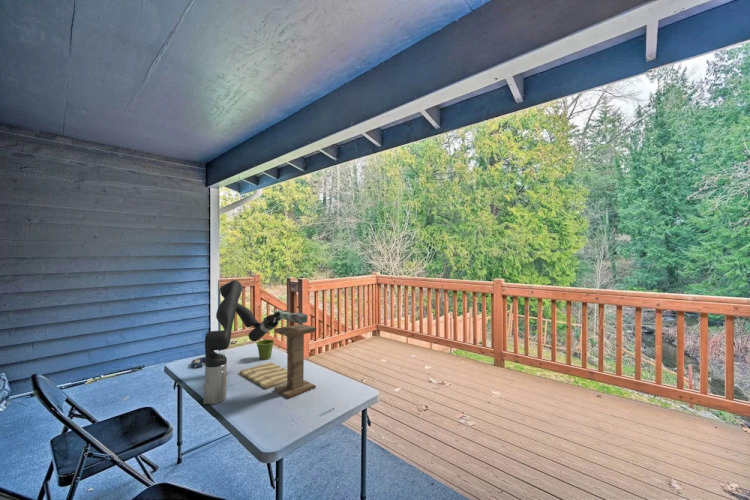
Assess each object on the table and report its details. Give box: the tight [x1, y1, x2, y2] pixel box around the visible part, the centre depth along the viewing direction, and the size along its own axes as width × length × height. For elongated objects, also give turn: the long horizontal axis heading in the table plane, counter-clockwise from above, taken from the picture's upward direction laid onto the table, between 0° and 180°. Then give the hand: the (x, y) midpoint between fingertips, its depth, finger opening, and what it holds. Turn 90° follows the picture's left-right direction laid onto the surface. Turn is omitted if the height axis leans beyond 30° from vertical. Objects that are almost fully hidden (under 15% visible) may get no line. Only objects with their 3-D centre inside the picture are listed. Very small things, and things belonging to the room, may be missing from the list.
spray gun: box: [190, 352, 226, 369], centre depth 196 cm, size 21×4×15 cm
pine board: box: [239, 361, 287, 390], centre depth 175 cm, size 32×20×2 cm, turn 48°
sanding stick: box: [273, 310, 308, 324], centre depth 162 cm, size 26×5×4 cm, turn 48°
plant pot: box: [255, 339, 275, 361], centre depth 206 cm, size 12×12×11 cm
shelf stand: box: [273, 323, 317, 400], centre depth 158 cm, size 14×16×32 cm
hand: (282, 312), depth 167 cm, fingers closed on sanding stick, 4 cm apart
